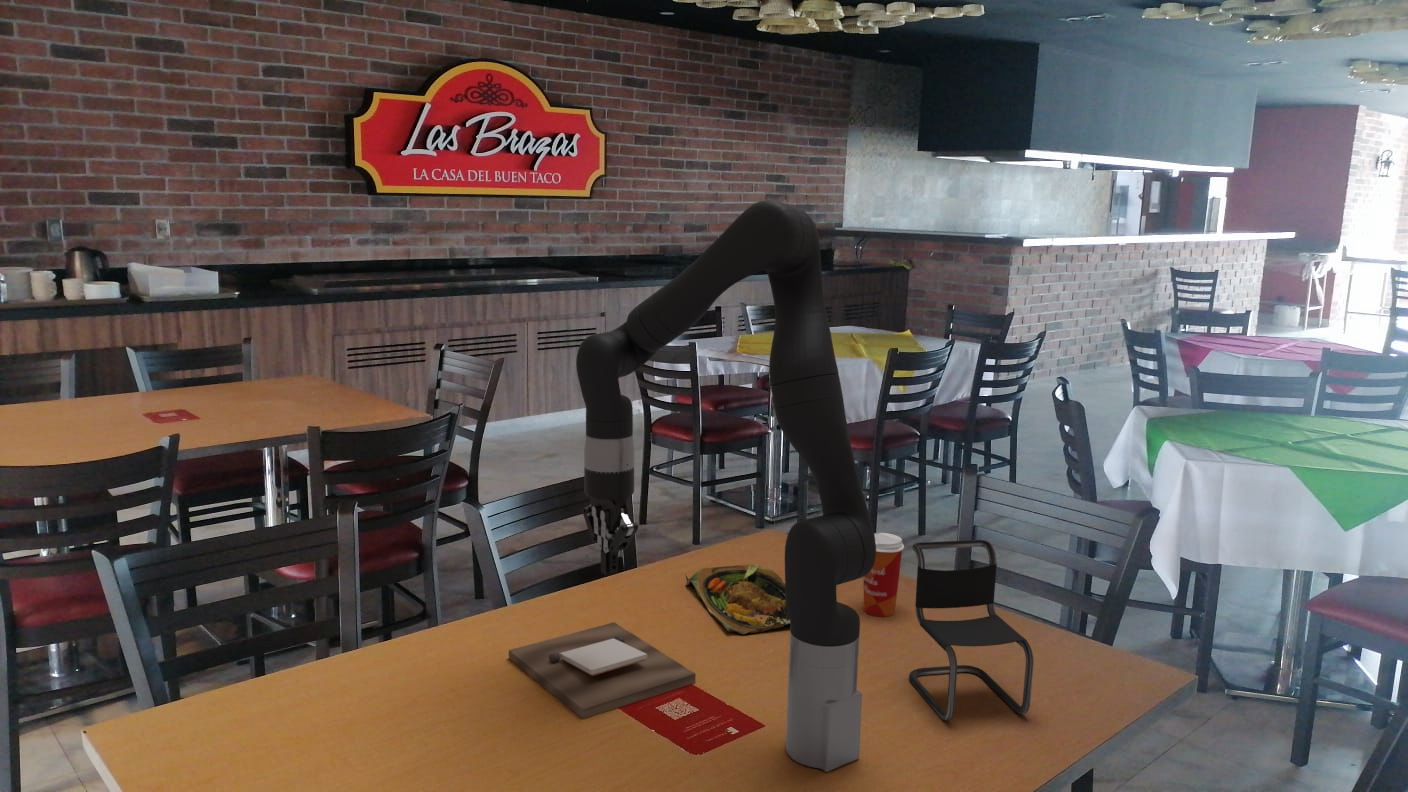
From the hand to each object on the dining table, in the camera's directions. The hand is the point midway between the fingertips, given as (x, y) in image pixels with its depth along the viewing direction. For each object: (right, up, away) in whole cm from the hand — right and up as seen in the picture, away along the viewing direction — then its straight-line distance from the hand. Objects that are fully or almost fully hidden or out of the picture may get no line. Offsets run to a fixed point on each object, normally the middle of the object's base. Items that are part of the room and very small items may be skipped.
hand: (609, 573), depth 155 cm
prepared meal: (+23, -12, +35) cm, 43 cm away
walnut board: (-2, -16, +5) cm, 17 cm away
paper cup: (+47, -13, +31) cm, 58 cm away
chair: (+54, -19, -1) cm, 57 cm away
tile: (-1, -13, +4) cm, 14 cm away
